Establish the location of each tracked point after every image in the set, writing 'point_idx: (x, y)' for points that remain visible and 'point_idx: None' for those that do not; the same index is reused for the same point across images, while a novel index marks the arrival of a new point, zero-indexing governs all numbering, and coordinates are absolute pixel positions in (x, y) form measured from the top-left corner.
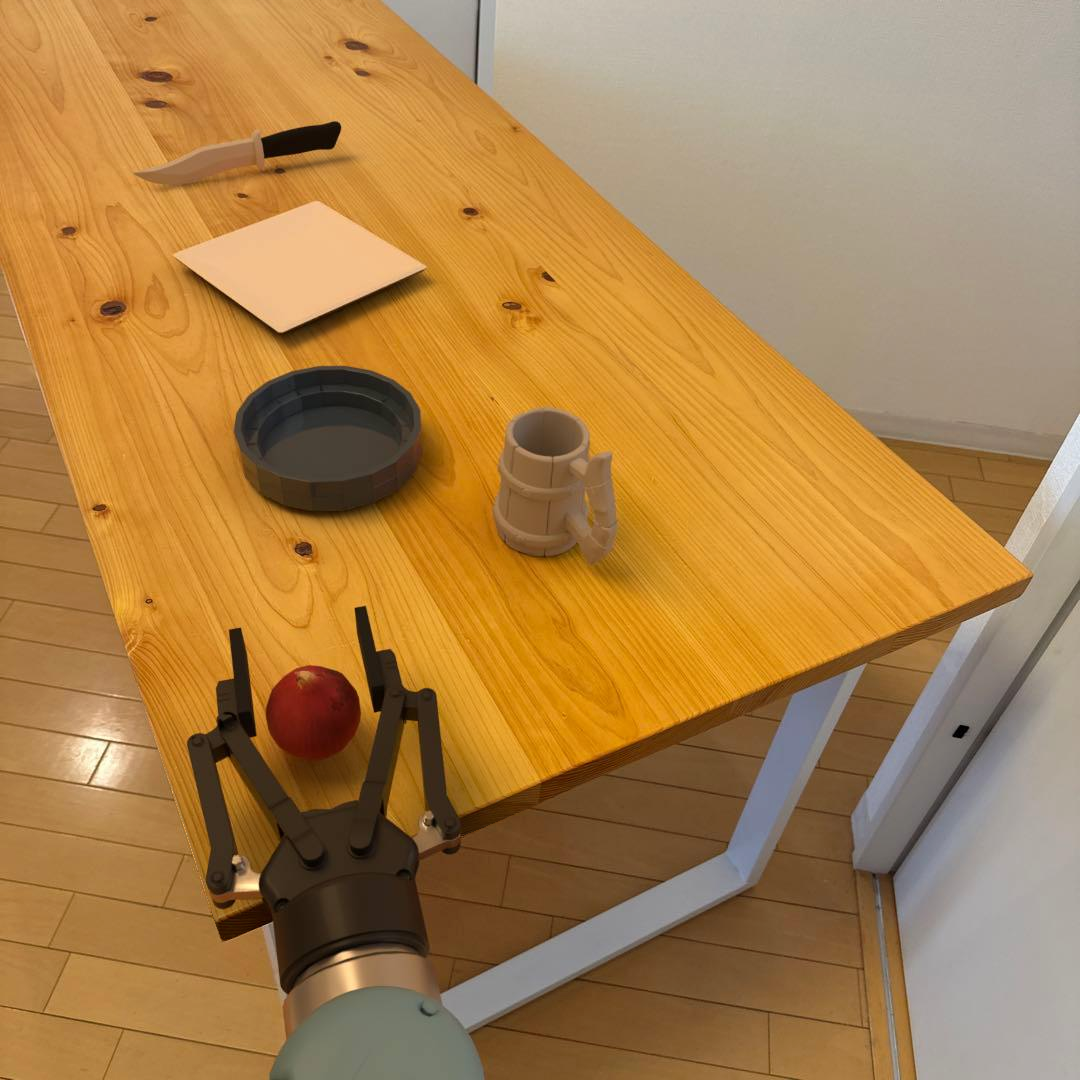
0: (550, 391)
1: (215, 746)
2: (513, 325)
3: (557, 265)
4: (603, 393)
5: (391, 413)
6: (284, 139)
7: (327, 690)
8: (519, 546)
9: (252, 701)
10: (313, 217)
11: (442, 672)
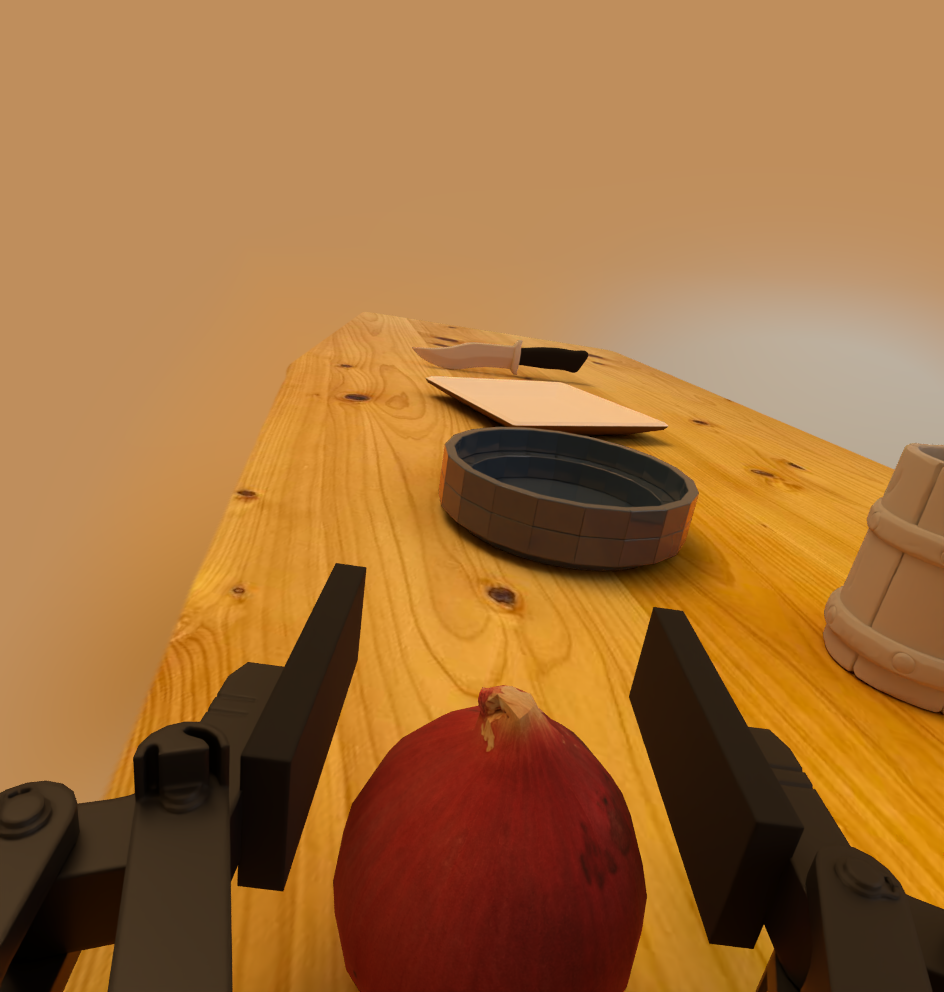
0: (841, 536)
1: (84, 866)
2: (769, 484)
3: (802, 462)
4: None
5: (643, 492)
6: (539, 352)
7: (575, 789)
8: (890, 680)
9: (320, 769)
10: (555, 391)
11: None
